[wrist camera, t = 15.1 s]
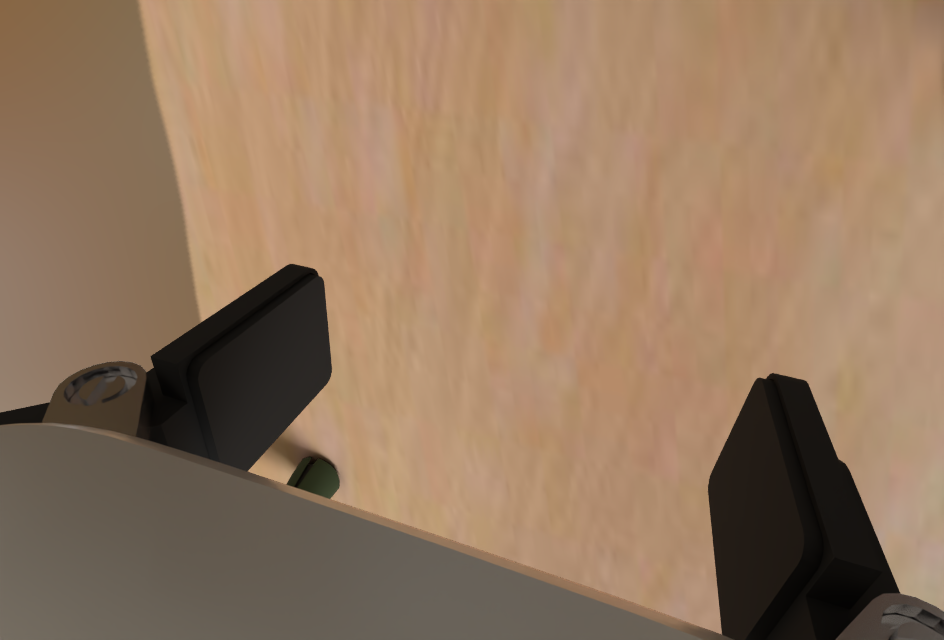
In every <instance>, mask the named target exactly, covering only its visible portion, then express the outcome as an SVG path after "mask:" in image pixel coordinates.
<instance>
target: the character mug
mask: <svg viewBox="0 0 944 640" xmlns="http://www.w3.org/2000/svg"><path fill="white" fill-rule="evenodd" d="M311 458H312V457H308V458H304V459H303V460H302V461H301V462H300V463H299V465H298V466H297V468H296V470H295V471H294V473H293V474H292V476H291V477H290V479H289V481H288V483H287V484H286V485H289V486H292V487H295V488H298V489H301V490H304V491H307V492H310V493H313V494H316V495H319V496H322V497H325V498H328V499H330V498H331V497H332V496H333V495H334V493H335V492H336V491H337V490H338V489H339V478H338V475H337V472H336V470H335V469H334V468H333V467H332V466H331V465H330V464H328V463H327V462H325V461H323V460H321V459H317V460H316V462H315V463H314V465H313V464H310V465H307V464H308V463H309V461H310V460H311Z"/></svg>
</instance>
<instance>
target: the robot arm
mask: <svg viewBox="0 0 944 640" xmlns="http://www.w3.org/2000/svg"><path fill="white" fill-rule="evenodd" d="M151 360H152V363H153V366H154V368H153V369H151V370H150V371H148V372H147V373H146V371H145V370H144V369H143V368H142V367H141V366H140V365H137V364H135V363H132V362H123V361H117V362H106V363H102V364H97V365H93V366H91V367H88V368H86V369H82V370H80V371H78V372H76V373H75V374H73V375H71V376H69V377H68V378H66V379H65V380H64V381H63V382H62V383H60V384H59V386H58V387H57V389H56V390H55V391H54V393H53V396H52V398H51V401H50V403H45V404H40V405H35V406H30V407H26V408H21V409H16V410H11V411H6V412H1V413H0V640H944V612H943V611H942V610H940V609H939V608H937V607H936V606H934V605H931V604H929V603H927V602H925V601H923V600H920V599H918V598H916V597H912V596H908V595H904V594H900V592H899V589H898V587H897V584H896V582H895V580H894V577H893V575H892V572H891V570H890V567H889V565H888V563H887V560H886V558H885V555H884V553H883V550H882V548H881V546H880V543H879V541H878V538H877V536H876V534H875V531H874V529H873V526H872V524H871V521H870V519H869V517H868V514H867V512H866V509H865V507H864V504H863V502H862V500H861V497H860V495H859V492H858V490H857V488H856V485H855V483H854V480H853V478H852V475H851V473H850V471H849V469H848V467H847V466H846V464H845V463H843V462H842V461H840V460H838V457H837V455H836V452H835V450H834V447H833V445H832V442H831V440H830V437H829V435H828V432H827V430H826V427H825V425H824V422H823V420H822V417H821V415H820V412H819V410H818V407H817V405H816V402H815V400H814V397H813V395H812V392H811V390H810V387H809V385H808V383H807V382H806V381H804V380H801V379H796V378H792V377H788V376H783V375H779V374H774V373H772V374H770V375H769V376H768V377H767V378H766V379H763V378H757V379H756V381H755V382H754V384H753V386H752V388H751V390H750V392H749V394H748V397H747V399H746V401H745V403H744V405H743V407H742V409H741V411H740V413H739V416H738V418H737V420H736V422H735V424H734V426H733V428H732V430H731V432H730V435H729V437H728V439H727V441H726V443H725V445H724V447H723V449H722V451H721V454H720V456H719V458H718V460H717V462H716V464H715V466H714V468H713V471H712V473H711V475H710V479H709V485H708V495H709V505H710V515H711V525H712V536H713V546H714V556H715V566H716V576H717V587H718V597H719V607H720V617H721V628H722V635H721V634H719V633H716V632H713V631H710V630H708V629H705V628H702V627H699V626H696V625H694V624H691V623H688V622H685V621H683V620H680V619H677V618H674V617H671V616H669V615H666V614H663V613H660V612H658V611H655V610H652V609H649V608H646V607H644V606H641V605H638V604H635V603H633V602H630V601H627V600H624V599H622V598H619V597H616V596H613V595H610V594H607V593H604V592H601V591H598V590H596V589H593V588H590V587H587V586H584V585H581V584H578V583H575V582H572V581H569V580H566V579H564V578H561V577H558V576H555V575H552V574H549V573H546V572H543V571H540V570H537V569H534V568H532V567H529V566H526V565H523V564H520V563H517V562H514V561H511V560H508V559H505V558H502V557H499V556H497V555H494V554H491V553H488V552H485V551H482V550H479V549H476V548H473V547H470V546H467V545H464V544H461V543H458V542H456V541H453V540H450V539H447V538H444V537H441V536H438V535H435V534H432V533H429V532H426V531H423V530H420V529H417V528H414V527H411V526H408V525H405V524H402V523H399V522H396V521H393V520H390V519H388V518H385V517H382V516H379V515H376V514H373V513H370V512H367V511H364V510H361V509H358V508H355V507H352V506H349V505H346V504H343V503H340V502H337V501H334V500H331V499H328V498H325V497H322V496H319V495H316V494H313V493H310V492H307V491H304V490H301V489H298V488H295V487H292V486H289V485H286V484H283V483H280V482H277V481H274V480H271V479H268V478H265V477H262V476H259V475H256V474H253V473H250V472H247V471H248V470H249V469H250V468H251V467H252V466H253V465H254V464H255V462H256V461H257V460H258V459H259V458H260V457H261V456H262V455H263V454H264V453H265V451H266V450H267V449H268V448H269V447H270V446H271V445H272V444H273V443H274V442H275V440H276V439H277V438H278V437H279V436H280V435H281V434H282V433H283V432H284V430H285V429H286V428H287V427H288V426H289V425H290V424H291V423H292V422H293V421H294V419H295V418H296V417H297V416H298V415H299V414H300V413H301V412H302V411H303V410H304V408H305V407H306V406H307V405H308V404H309V403H310V402H311V401H312V400H313V399H314V397H315V396H316V395H317V394H318V393H319V392H320V391H321V390H322V389H323V388H324V386H325V385H326V384H327V383H328V381H329V379H330V377H331V373H332V365H331V354H330V343H329V332H328V321H327V310H326V299H325V288H324V281H323V279H322V278H321V277H320V276H319V275H318V273H317V271H316V270H315V269H313V268H308V267H304V266H299V265H295V264H289V265H287V266H285V267H284V268H282V269H281V270H279V271H278V272H276V273H275V274H273V275H272V276H270V277H269V278H267V279H266V280H264V281H263V282H261V283H260V284H258V285H257V286H255V287H254V288H252V289H251V290H249V291H248V292H246V293H245V294H243V295H242V296H240V297H239V298H237V299H236V300H234V301H233V302H231V303H230V304H228V305H227V306H225V307H224V308H222V309H221V310H219V311H218V312H216V313H215V314H213V315H212V316H210V317H209V318H207V319H206V320H204V321H203V322H201V323H200V324H198V325H197V326H195V327H194V328H192V329H191V330H189V331H188V332H186V333H185V334H183V335H182V336H181V337H179V338H177V339H176V340H174V341H173V342H171V343H170V344H169V345H167V346H165V347H164V348H162V349H161V350H159V351H158V352H156V353H155V354H153V355H152V356H151Z"/></svg>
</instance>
